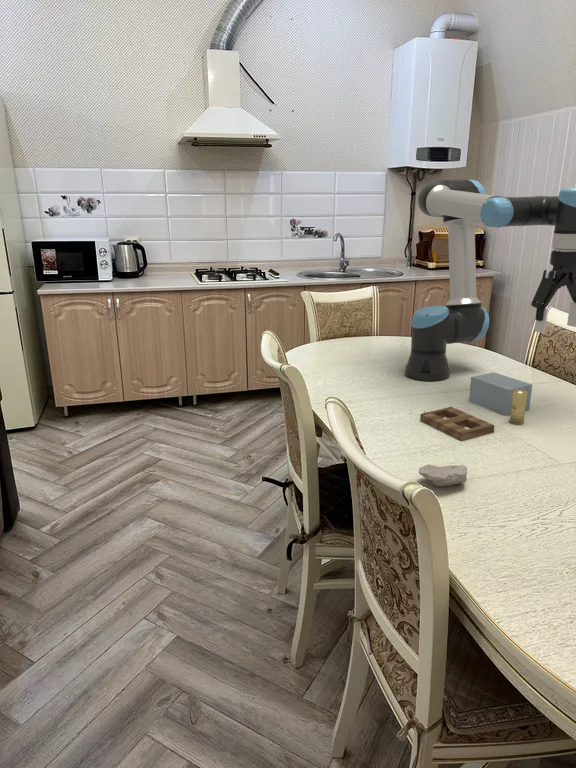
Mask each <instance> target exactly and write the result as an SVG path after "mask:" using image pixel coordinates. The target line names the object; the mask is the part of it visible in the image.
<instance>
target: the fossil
mask: <svg viewBox="0 0 576 768" xmlns="http://www.w3.org/2000/svg"><path fill="white" fill-rule="evenodd" d="M418 474H419V475H420V476H422V477H423V478H424V479H426V480H429V481H430V483H431V484H432V485H433V486H435V487H438V488H443V487H444V486H445V487H450V486H455V485H458V484H462V485H463V484H465V483H467V474H468V467H467V466H466V465H464V464H461V465H444V466H443V465H442V466H439V465H437V466H436V465H434V464H425V465H423V466H422V467H419V468H418Z"/></svg>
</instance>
